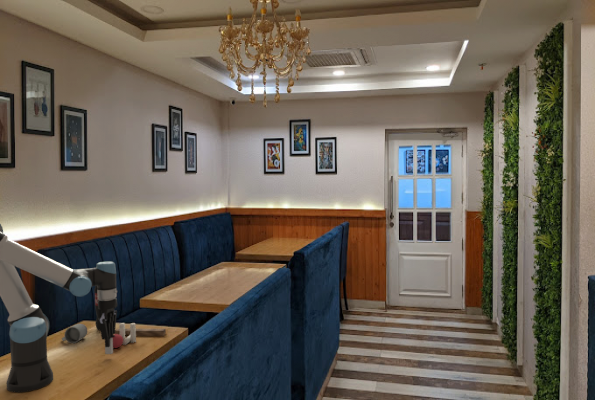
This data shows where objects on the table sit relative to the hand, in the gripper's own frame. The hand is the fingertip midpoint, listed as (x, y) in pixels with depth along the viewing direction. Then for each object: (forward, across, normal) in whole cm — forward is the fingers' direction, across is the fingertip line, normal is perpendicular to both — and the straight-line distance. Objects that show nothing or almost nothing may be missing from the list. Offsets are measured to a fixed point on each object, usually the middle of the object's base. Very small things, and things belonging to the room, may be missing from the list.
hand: (109, 353), depth 198 cm
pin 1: (+2, +19, +2) cm, 19 cm away
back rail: (+2, +29, -2) cm, 29 cm away
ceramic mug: (+2, +21, +27) cm, 34 cm away
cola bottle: (+2, +38, +20) cm, 43 cm away
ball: (-1, +12, +2) cm, 12 cm away
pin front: (+1, +15, 0) cm, 15 cm away
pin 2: (+2, +19, -2) cm, 19 cm away
